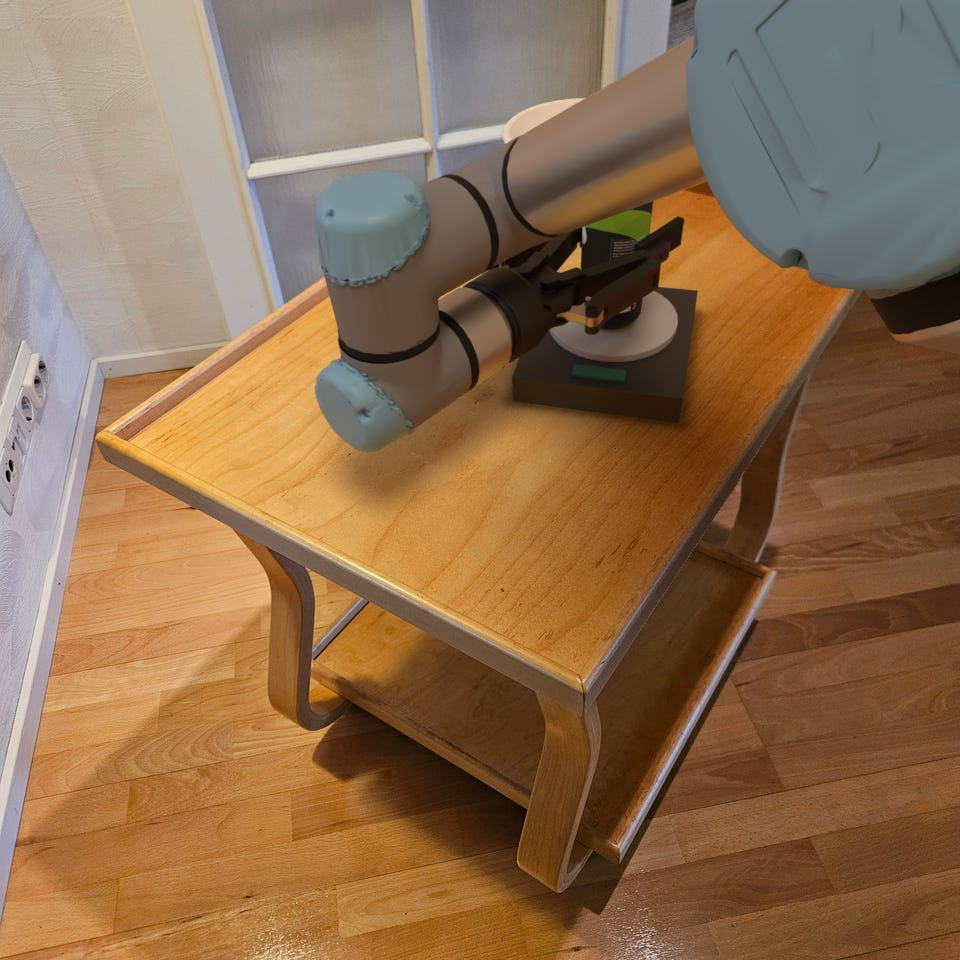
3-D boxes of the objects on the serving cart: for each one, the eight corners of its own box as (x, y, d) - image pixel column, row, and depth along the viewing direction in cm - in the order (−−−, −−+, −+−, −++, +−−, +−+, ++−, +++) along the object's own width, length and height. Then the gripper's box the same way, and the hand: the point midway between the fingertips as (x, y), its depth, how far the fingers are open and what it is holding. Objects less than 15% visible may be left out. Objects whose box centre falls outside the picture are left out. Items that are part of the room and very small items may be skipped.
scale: (694, 314, 90) (698, 283, 87) (678, 423, 78) (683, 391, 75) (548, 299, 93) (549, 269, 90) (512, 401, 81) (511, 370, 78)
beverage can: (650, 307, 84) (667, 164, 74) (624, 339, 81) (639, 195, 70) (594, 291, 87) (603, 151, 76) (567, 322, 83) (572, 180, 72)
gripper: (414, 321, 77) (576, 224, 88) (568, 409, 67) (728, 288, 78) (405, 249, 71) (579, 155, 82) (571, 333, 62) (743, 214, 73)
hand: (651, 220), depth 80 cm, fingers open, 6 cm apart
